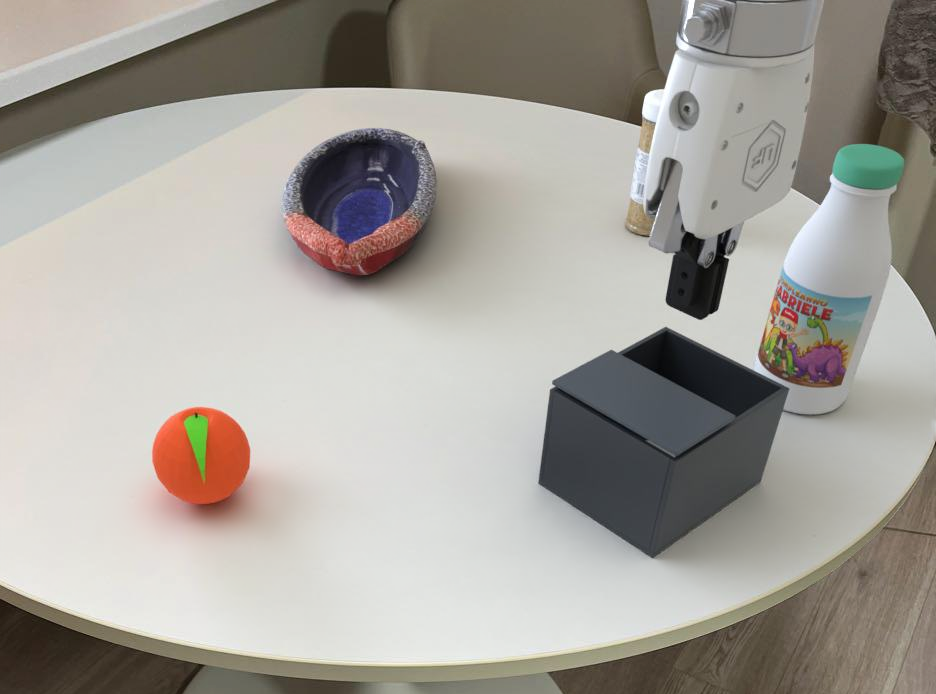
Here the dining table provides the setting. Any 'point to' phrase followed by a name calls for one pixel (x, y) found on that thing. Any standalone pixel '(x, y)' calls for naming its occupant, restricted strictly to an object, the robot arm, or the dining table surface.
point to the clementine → (201, 455)
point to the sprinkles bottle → (643, 166)
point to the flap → (644, 401)
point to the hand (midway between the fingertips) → (690, 308)
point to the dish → (360, 199)
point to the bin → (649, 468)
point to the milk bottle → (832, 284)
